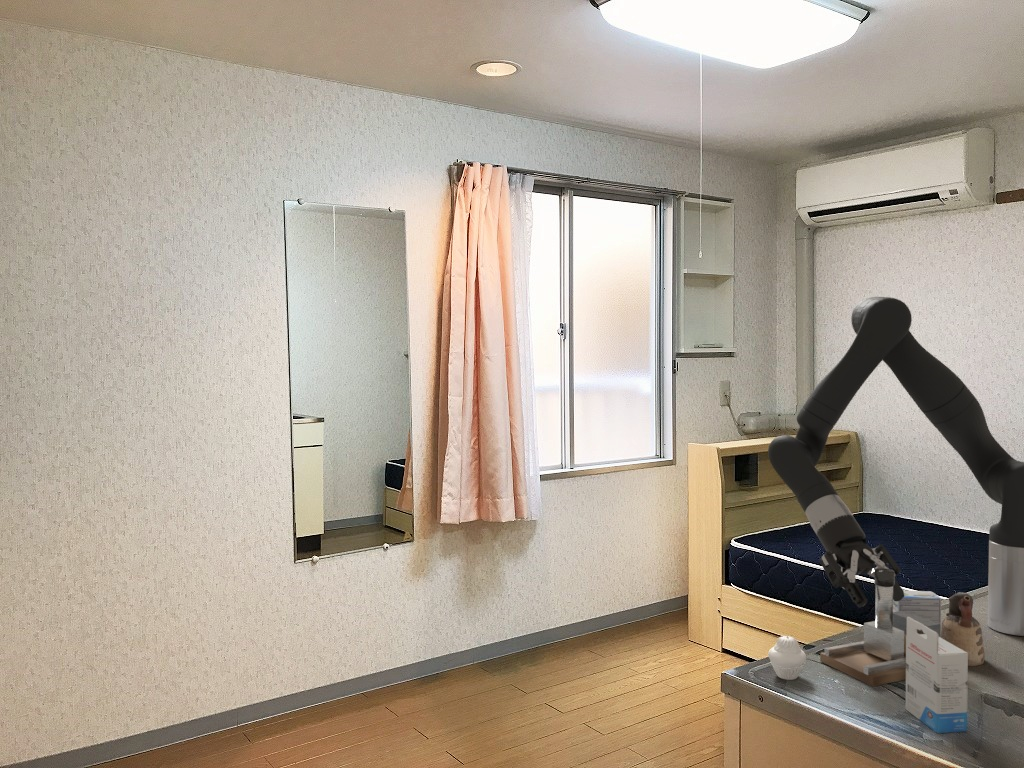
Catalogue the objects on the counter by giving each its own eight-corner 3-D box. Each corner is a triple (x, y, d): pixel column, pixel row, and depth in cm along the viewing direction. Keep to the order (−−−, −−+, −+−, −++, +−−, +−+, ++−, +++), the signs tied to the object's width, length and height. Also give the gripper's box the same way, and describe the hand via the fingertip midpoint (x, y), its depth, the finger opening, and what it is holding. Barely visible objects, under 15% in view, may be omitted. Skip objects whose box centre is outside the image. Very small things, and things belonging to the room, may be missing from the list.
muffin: (808, 672, 143) (808, 632, 143) (804, 685, 137) (804, 644, 137) (770, 667, 146) (770, 627, 145) (765, 679, 140) (765, 639, 140)
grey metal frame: (898, 640, 154) (898, 608, 153) (944, 659, 144) (945, 625, 144) (824, 654, 147) (824, 621, 147) (868, 675, 138) (868, 639, 138)
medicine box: (931, 634, 161) (932, 590, 161) (941, 643, 157) (942, 597, 156) (889, 633, 162) (890, 589, 162) (897, 641, 158) (898, 596, 157)
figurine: (980, 654, 151) (981, 588, 150) (988, 668, 144) (989, 600, 144) (936, 649, 153) (937, 585, 153) (942, 663, 147) (943, 596, 146)
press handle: (876, 648, 149) (878, 565, 148) (904, 659, 144) (905, 573, 143) (863, 650, 148) (864, 567, 147) (890, 662, 142) (891, 575, 142)
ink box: (968, 732, 121) (970, 632, 120) (936, 734, 120) (938, 633, 119) (934, 707, 129) (935, 613, 128) (903, 708, 129) (905, 614, 128)
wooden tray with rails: (896, 646, 155) (896, 619, 155) (951, 669, 144) (952, 640, 144) (820, 661, 148) (820, 633, 148) (872, 686, 137) (873, 656, 137)
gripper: (814, 516, 151) (863, 596, 141) (874, 510, 156) (924, 586, 146) (794, 539, 156) (839, 618, 146) (852, 532, 161) (900, 607, 151)
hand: (882, 602), depth 146 cm, fingers open, 8 cm apart
